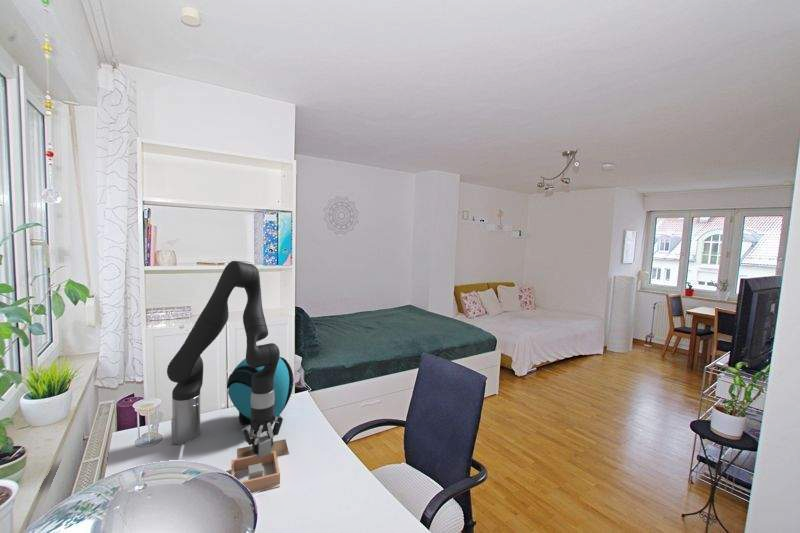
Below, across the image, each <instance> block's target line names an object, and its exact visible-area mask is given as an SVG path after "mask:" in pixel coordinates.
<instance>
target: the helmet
mask: <svg viewBox="0 0 800 533" xmlns="http://www.w3.org/2000/svg"><path fill="white" fill-rule="evenodd" d="M263 368H264V366H262V367H258V368H251V367H249V366H248V364H247V362H246V357H245V358H244V359H243V360H241V361H240V362H239V364H237V366H235V368H234V369H233V371H232V373H231V374H230V375H229V376H228V379H227V382H226V389H227V395H228V396H229V399H230V400H231V403H232V404H233V406H234V407H235V408H236V411H238V420H239V421H238V422H239V423H240V425H242V426H243V427H246V426H248V425H249V424H250V421H251V393H252V376H253V374H255V373H256V372H258V371H260V370H262V369H263ZM294 379H295V378H294V373H293V369H292V366H291V365H290V363H289V362H288V360H287V359H285V358H284V357H283V356H282V357H281V356H280V357H279V361H278V364H277V368H276V371H275V375H274V394H275V406H274V416H278V415H280V416H281V414H282V412H283V411H284V410H285V408H286V407H287V405H288V403H289V400H290V398H291V397H292V394H293V389H294V384H295V383H294Z"/></svg>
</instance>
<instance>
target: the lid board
mask: <svg viewBox="0 0 800 533" xmlns="http://www.w3.org/2000/svg"><path fill="white" fill-rule="evenodd" d="M236 450H237V451H236V452H237V459H239V458H243V457H248V456H253V455H256V454H254V452H253V451H252V445H249V446H248V445H247V446H245V447H238V448H236ZM272 451H276V456H277V458H278V457H283V456H287V455H290V451H289V448H288V443H287V440H286V438H284V439H279V440H273V446H272V447H271V452H272Z"/></svg>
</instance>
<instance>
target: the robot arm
mask: <svg viewBox="0 0 800 533" xmlns="http://www.w3.org/2000/svg"><path fill="white" fill-rule="evenodd" d="M235 288H240V289H244V290H245V293H246V296H247V300H246V305H245V307H244V309H243V314H242V323H243V327H244V331H245V332H244V333H245V336H246V351H245V358H246V362H247V364H248V366H249V367H251V368H258V367H262V366H264V368H263V369H262V370H260V371H258V372H256V373H255V374H253V376H252V393H251V421H250V424H249V425H246V426H243V427H242V428H240V430H241V432H242V435H243V437H244V440H245V441H246V442H247V445H249V446H252V451H253V452H254V454H256V455H257V454H258V440H259V438H260V435H261V433H264V432H266V433H267V435H268V437H269V438H270V439H271V447H272V446H273V441H274V437H275V436H278V435H279V433H280V430H281V428H282V427H281V426H282V424H283V420H284V419H283V417H282V416H281V414H280V415H278V416H274V406H275V394H274V375H275V371H276V368H277V364H278V361H279V357H281V353H280V352H281V351H280V349H279V347H278V345H277V344H275V343H273V342H272V343H264V344H259V345H257V342H260V341H263V340H265V339H266V338H267V337H268V335H269V329H268V325H267V322H266V318H265V314H264V310H263V309H264V308H263V301H262V288H261V277H260V272H259V269H258V267H257V266H256V265H254V264H253V263H247V262H243V261H238V260H232V261H230V262H229V263H227V265H226V266H225V267H224V269H223V271H222V273H221V275H220V276H219V279H218V282H217V284H216V286H215V289H214V290H213V292H212V294H211V296H210V297H209V299H208V302H207V303H206V305H205V306H204V308H203V310H202V311H201V313H200V314H199V316H198V317H197V319H196V320H195V323H194V324H193V326H192V328H191V330H190V332H189V333H188V335H187V337H186V339H185V341H184V342H183V344H182V345H181V347H180V348H179V350H178V351H177V353H176V354H175V355H174V356H173V358H172V359H170V362H169V363H168V365H167V369H166V374H167V377H168V379H169V380H170V381H171V382H172V383H176V385H175V387H174V388H173V389H172V392H171V402H172V403H171V404H172V405H171V407H172V408H171V410H172V411H171V415H172V417H171V445H186V442H190V441H193V440H195V439H196V438H198V437H199V436H201V390H202V389H201V388H202V386H203V380H204V361H203V358H202V356H201V355H202V354H203V353H204V351H205V350H206V349H207V348H208V347H209V346H210V345H211V344H212V343H213V342H215V340H216V339H217V337H218V336H219V335H220V334H221V332H222V330H223V329H224V327H225V325H226V324H227V323H228V320H229V297H230V295H231V294H232V291H233V290H234V289H235ZM273 424H274V425H273ZM272 426H273V427H272ZM251 430H252V437H251V435H250V433H251Z"/></svg>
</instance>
